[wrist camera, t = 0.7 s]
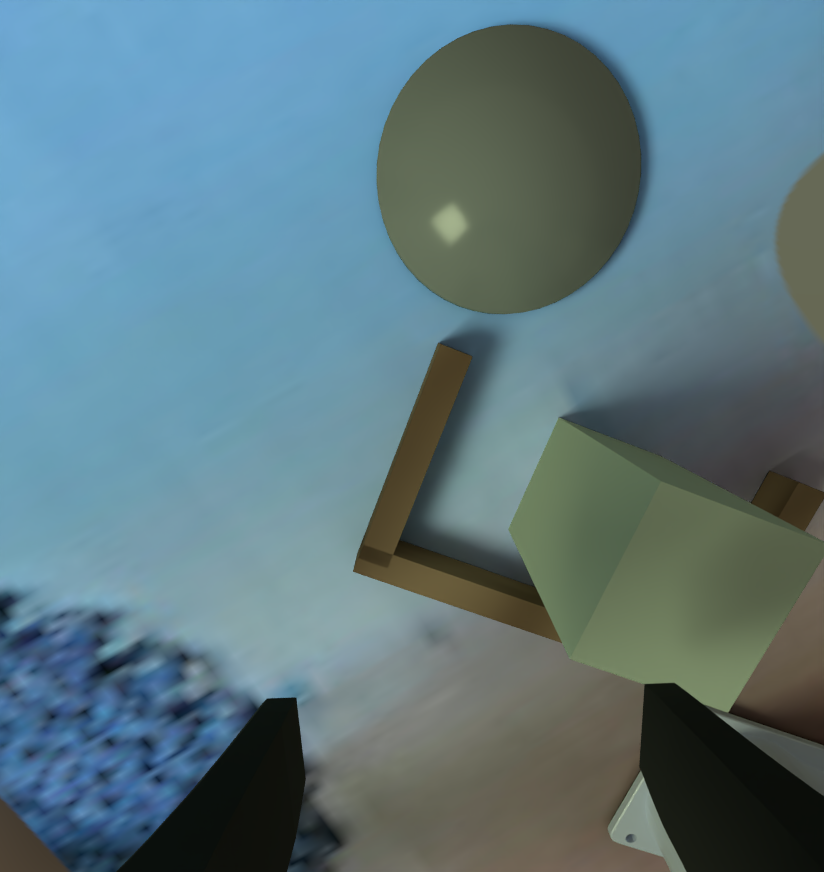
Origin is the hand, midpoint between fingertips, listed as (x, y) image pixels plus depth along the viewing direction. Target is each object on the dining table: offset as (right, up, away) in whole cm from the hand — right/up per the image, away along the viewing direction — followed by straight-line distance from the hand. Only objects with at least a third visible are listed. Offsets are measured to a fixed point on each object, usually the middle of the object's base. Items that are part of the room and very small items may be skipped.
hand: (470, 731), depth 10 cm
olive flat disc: (+2, +15, +7) cm, 17 cm away
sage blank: (+6, +4, +10) cm, 12 cm away
